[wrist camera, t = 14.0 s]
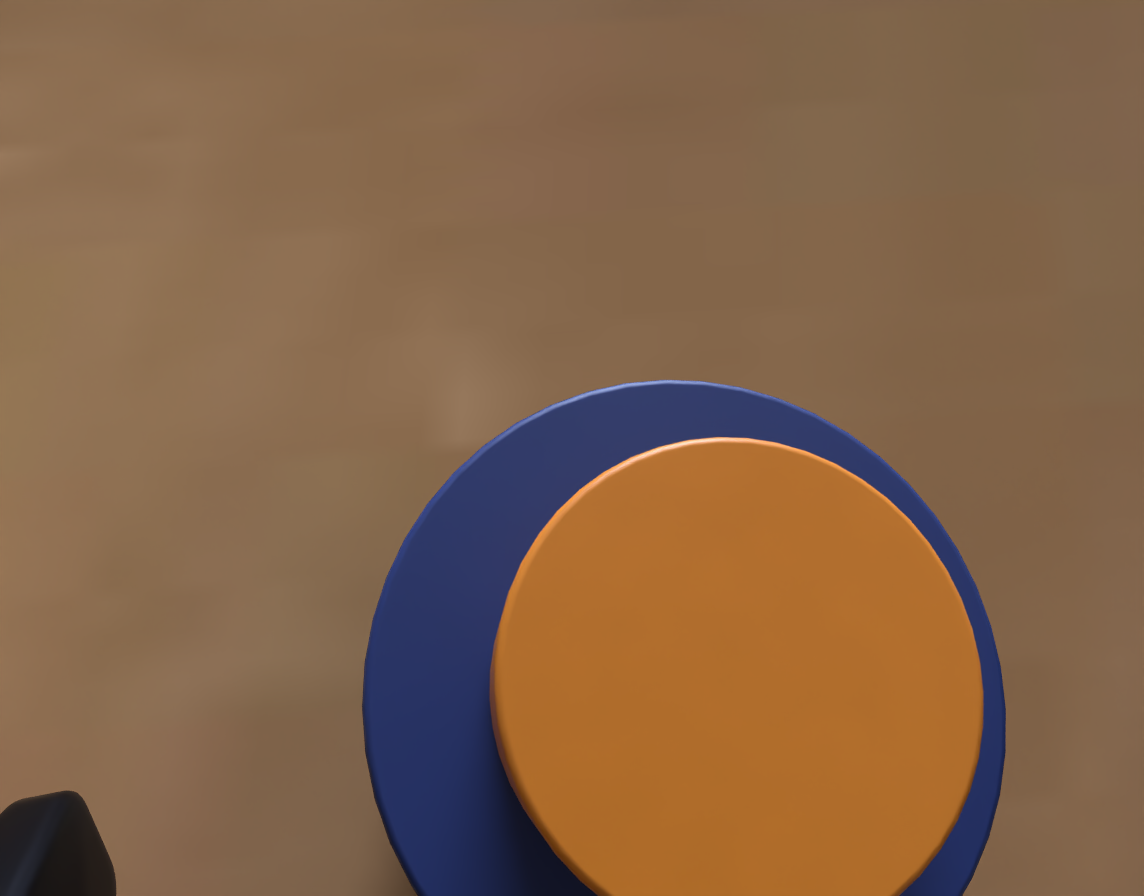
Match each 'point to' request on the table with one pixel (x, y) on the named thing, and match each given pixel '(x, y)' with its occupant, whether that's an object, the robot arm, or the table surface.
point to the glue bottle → (682, 664)
